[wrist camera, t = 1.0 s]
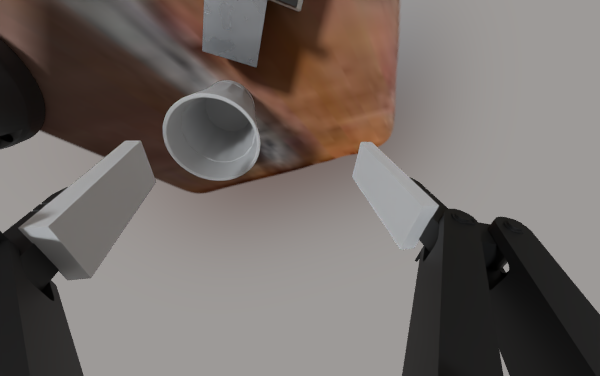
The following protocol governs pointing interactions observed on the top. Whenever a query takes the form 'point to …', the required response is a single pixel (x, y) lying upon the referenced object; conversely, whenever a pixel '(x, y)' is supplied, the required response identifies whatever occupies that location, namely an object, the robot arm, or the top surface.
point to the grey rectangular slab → (235, 28)
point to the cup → (214, 132)
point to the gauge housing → (298, 8)
